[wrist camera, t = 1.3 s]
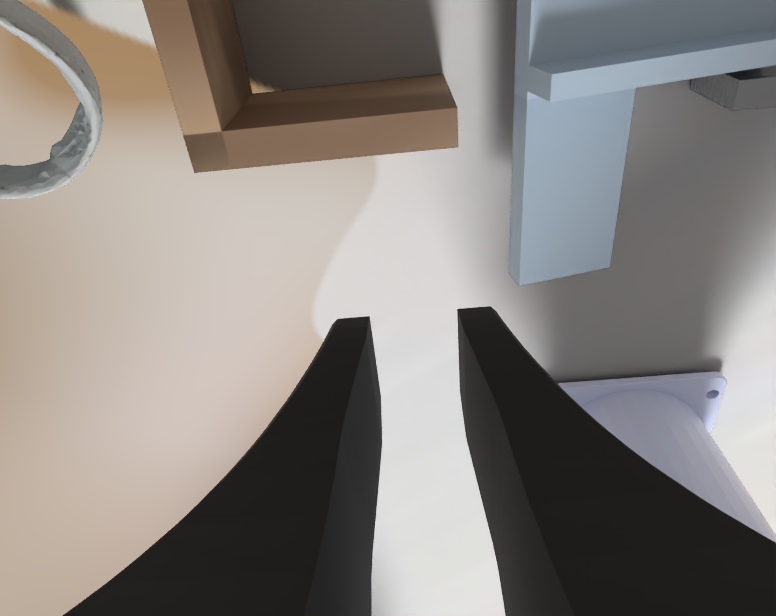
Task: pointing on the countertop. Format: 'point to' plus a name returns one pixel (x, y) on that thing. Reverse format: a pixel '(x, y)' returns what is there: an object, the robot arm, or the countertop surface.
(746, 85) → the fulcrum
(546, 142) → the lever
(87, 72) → the ceramic mug
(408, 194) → the countertop surface
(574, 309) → the countertop surface
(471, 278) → the countertop surface
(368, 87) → the pocket
